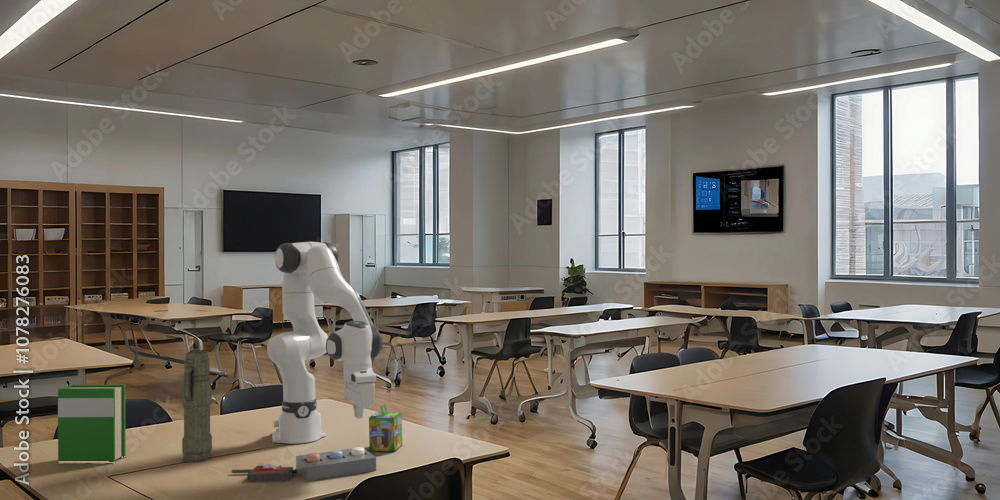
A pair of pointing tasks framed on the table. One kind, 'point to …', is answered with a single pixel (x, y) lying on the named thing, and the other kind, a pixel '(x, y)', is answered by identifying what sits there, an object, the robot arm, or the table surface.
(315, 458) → the orange egg
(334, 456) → the pale blue egg shape
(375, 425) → the chalk box
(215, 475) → the table surface
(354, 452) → the white ellipsoid
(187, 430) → the thermos
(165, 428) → the table surface
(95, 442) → the hardback book
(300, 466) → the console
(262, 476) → the walkie-talkie
